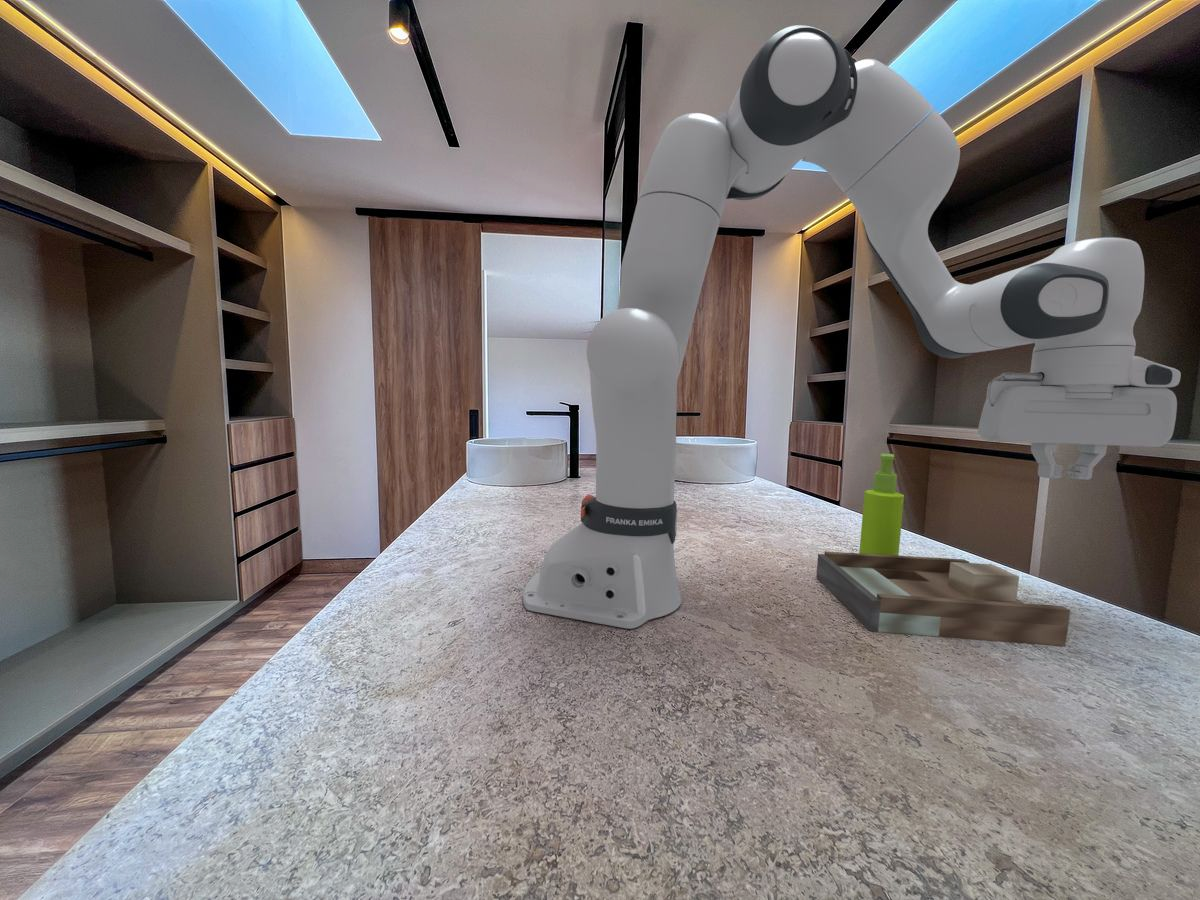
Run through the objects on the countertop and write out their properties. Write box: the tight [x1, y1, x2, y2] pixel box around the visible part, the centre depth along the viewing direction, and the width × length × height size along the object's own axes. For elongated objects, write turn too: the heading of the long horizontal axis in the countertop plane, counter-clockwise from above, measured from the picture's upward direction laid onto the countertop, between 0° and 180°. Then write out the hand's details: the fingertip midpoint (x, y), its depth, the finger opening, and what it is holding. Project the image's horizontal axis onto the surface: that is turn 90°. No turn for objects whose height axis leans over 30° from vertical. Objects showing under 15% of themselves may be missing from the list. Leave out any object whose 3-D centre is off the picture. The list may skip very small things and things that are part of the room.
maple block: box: [948, 562, 1020, 602], centre depth 59 cm, size 6×4×4 cm
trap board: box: [815, 551, 1071, 647], centre depth 60 cm, size 22×17×4 cm
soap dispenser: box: [858, 453, 905, 556], centre depth 76 cm, size 6×7×20 cm
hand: (1063, 478), depth 56 cm, fingers open, 2 cm apart
